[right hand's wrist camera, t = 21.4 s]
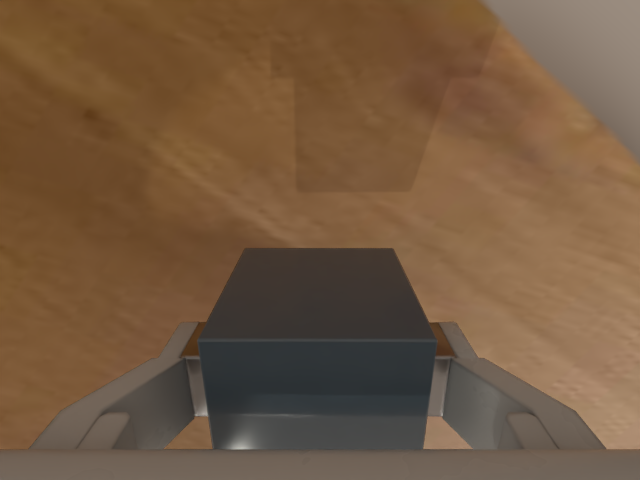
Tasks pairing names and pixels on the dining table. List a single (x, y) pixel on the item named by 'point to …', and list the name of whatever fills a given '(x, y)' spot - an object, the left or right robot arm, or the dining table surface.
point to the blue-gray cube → (317, 353)
